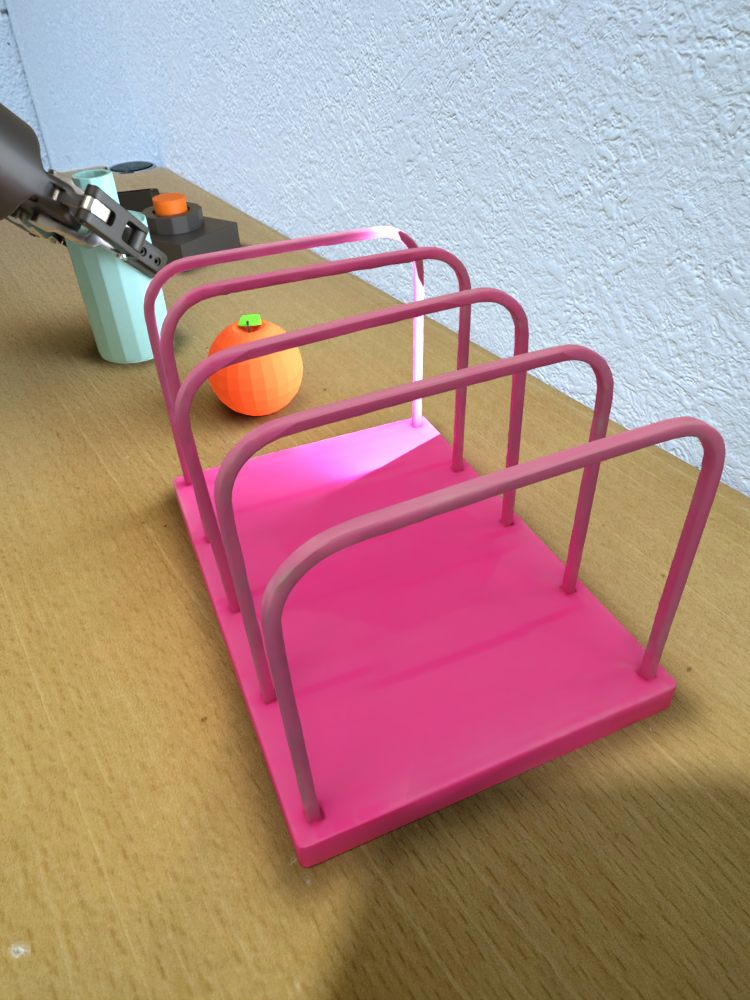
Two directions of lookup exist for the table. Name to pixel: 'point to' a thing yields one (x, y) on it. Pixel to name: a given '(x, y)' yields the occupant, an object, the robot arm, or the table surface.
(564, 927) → the table surface
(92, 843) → the table surface
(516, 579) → the file sorter
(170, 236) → the dock
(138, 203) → the phone
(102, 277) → the mint green bottle
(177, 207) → the button
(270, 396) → the clementine
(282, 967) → the table surface
